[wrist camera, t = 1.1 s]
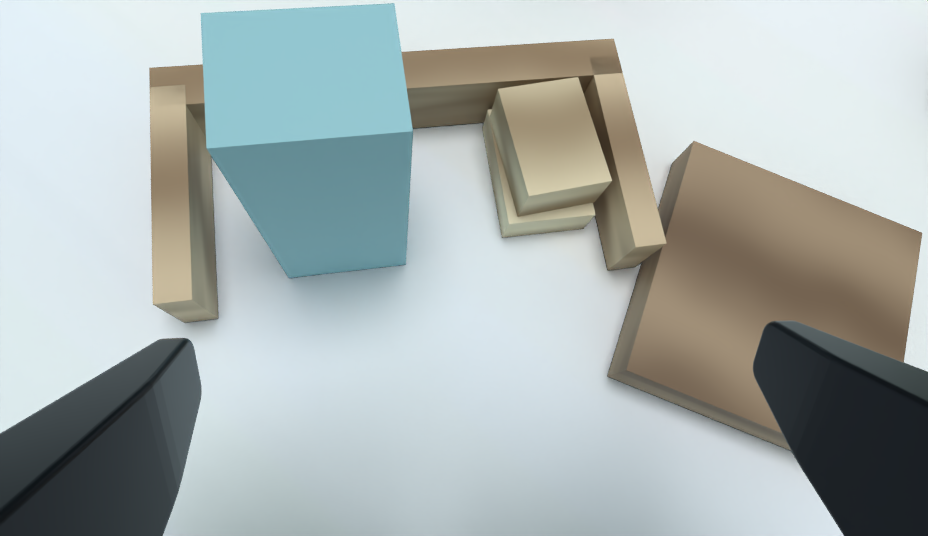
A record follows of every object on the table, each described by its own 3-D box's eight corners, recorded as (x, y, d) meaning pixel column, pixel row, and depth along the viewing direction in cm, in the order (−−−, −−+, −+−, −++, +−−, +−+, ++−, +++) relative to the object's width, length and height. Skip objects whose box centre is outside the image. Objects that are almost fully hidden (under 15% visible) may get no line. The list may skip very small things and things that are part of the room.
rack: (635, 267, 25) (666, 243, 22) (184, 322, 22) (152, 304, 19) (590, 81, 27) (613, 38, 24) (178, 112, 24) (149, 67, 21)
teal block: (405, 264, 24) (413, 131, 14) (289, 278, 23) (206, 148, 13) (394, 183, 25) (394, 3, 15) (282, 194, 24) (200, 13, 14)
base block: (846, 473, 23) (887, 475, 21) (607, 376, 23) (626, 370, 21) (883, 248, 26) (922, 232, 24) (672, 163, 26) (694, 140, 24)
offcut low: (580, 232, 25) (595, 214, 23) (500, 241, 25) (509, 223, 23) (557, 127, 27) (570, 103, 25) (481, 134, 26) (487, 109, 24)
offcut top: (594, 202, 24) (612, 180, 22) (517, 216, 23) (528, 196, 21) (563, 105, 25) (577, 76, 23) (489, 116, 24) (497, 88, 22)
